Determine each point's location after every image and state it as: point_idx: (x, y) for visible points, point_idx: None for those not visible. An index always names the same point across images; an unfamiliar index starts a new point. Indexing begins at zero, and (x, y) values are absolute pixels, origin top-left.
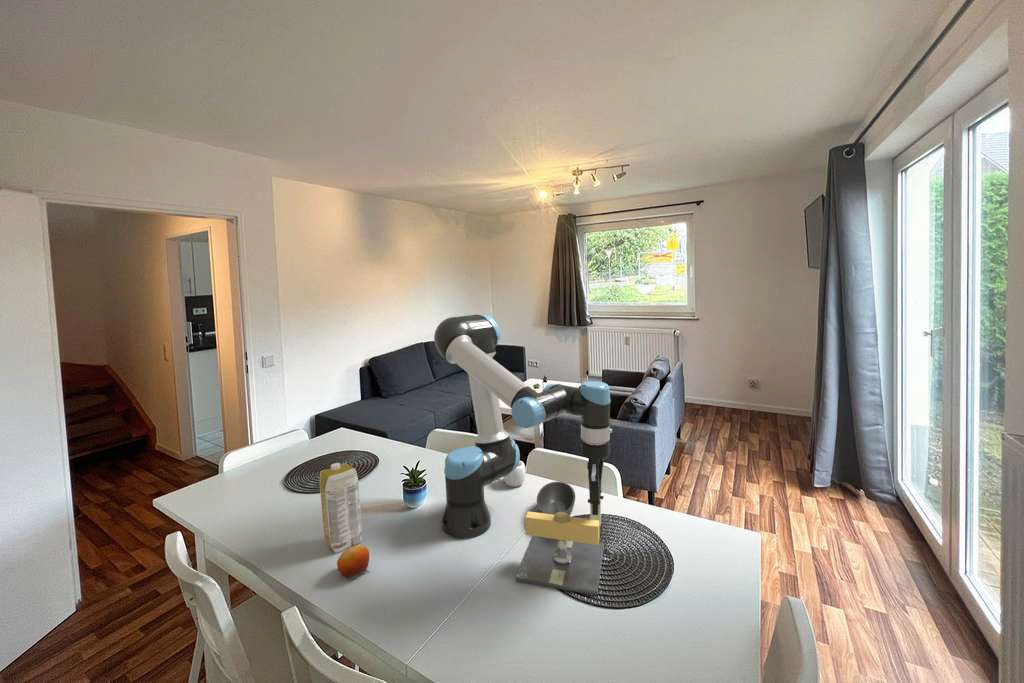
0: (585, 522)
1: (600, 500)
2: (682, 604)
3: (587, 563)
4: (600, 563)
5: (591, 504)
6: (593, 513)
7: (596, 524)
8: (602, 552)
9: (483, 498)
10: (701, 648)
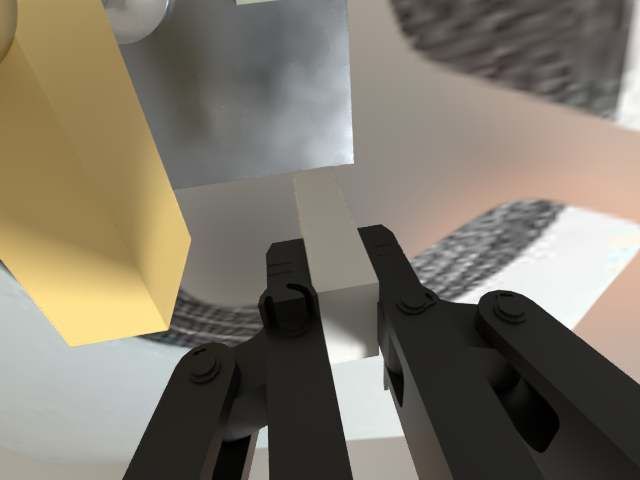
0: (54, 256)
1: (370, 355)
2: (164, 382)
3: (156, 131)
4: (190, 185)
5: (312, 280)
6: (266, 262)
7: (92, 330)
8: (274, 173)
9: None
10: (45, 421)
